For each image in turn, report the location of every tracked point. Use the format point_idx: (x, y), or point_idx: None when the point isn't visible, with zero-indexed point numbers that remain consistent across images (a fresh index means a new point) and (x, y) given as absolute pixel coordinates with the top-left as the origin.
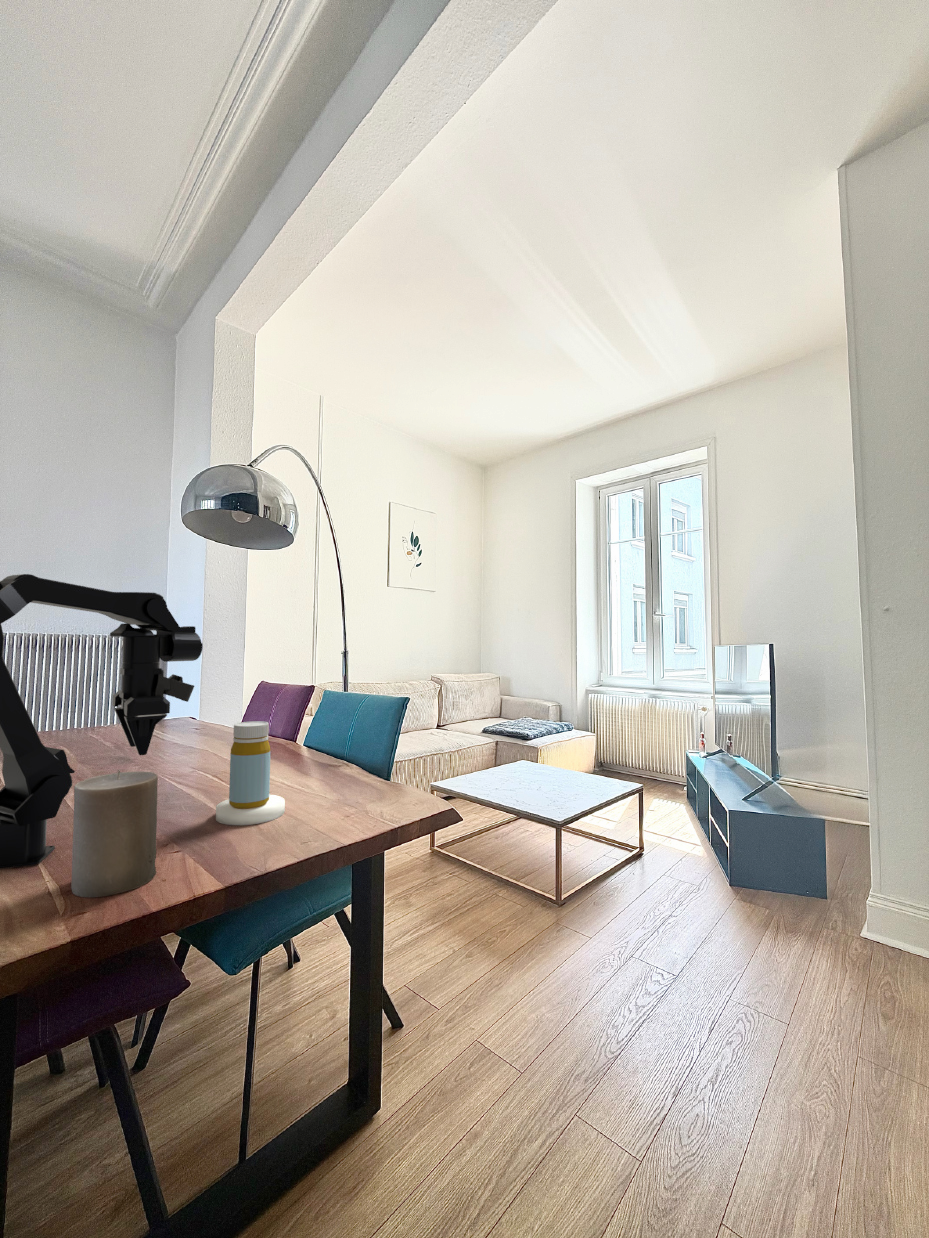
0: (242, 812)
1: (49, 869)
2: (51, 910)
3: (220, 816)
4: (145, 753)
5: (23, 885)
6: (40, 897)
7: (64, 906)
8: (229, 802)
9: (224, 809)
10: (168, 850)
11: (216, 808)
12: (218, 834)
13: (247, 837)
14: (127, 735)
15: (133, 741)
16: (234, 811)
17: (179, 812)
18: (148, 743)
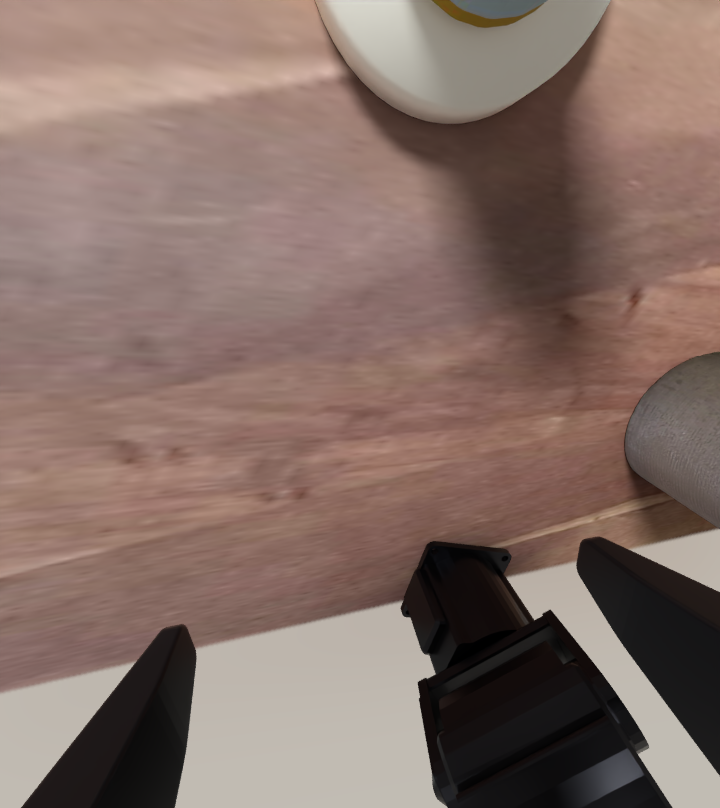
0: (589, 2)
1: (540, 527)
2: None
3: (499, 108)
4: (603, 544)
5: None
6: (655, 515)
7: None
8: (483, 24)
9: (492, 73)
10: (611, 317)
11: (456, 106)
12: (595, 157)
13: (692, 66)
14: (170, 801)
15: (179, 688)
16: (551, 36)
17: (257, 246)
18: (701, 593)
